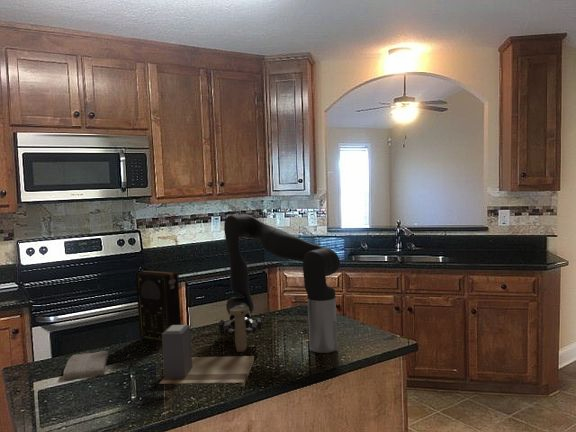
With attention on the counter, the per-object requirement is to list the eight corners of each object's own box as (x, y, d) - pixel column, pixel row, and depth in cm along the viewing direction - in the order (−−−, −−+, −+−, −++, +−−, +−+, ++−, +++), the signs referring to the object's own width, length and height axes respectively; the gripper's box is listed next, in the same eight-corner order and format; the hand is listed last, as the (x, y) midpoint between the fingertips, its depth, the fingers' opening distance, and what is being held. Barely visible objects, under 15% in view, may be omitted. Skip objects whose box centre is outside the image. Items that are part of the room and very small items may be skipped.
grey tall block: (192, 367, 148) (189, 323, 147) (185, 377, 140) (182, 331, 139) (173, 367, 148) (170, 324, 147) (164, 378, 140) (161, 332, 139)
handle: (253, 353, 161) (251, 308, 160) (235, 357, 158) (233, 311, 157) (247, 349, 165) (245, 305, 164) (229, 353, 162) (227, 308, 161)
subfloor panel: (254, 359, 155) (253, 356, 155) (244, 386, 135) (243, 382, 135) (180, 361, 157) (179, 357, 157) (159, 387, 137) (159, 383, 137)
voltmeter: (137, 339, 181) (132, 272, 179) (154, 332, 188) (150, 268, 186) (168, 345, 173) (164, 275, 171) (185, 337, 180) (180, 270, 179)
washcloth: (109, 356, 165) (108, 347, 165) (105, 376, 148) (104, 366, 148) (71, 361, 162) (70, 352, 162) (62, 382, 145) (62, 372, 145)
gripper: (219, 308, 174) (217, 321, 158) (259, 305, 175) (261, 318, 159) (220, 329, 175) (219, 344, 158) (260, 326, 176) (262, 340, 160)
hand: (240, 331), depth 159 cm, fingers open, 8 cm apart
